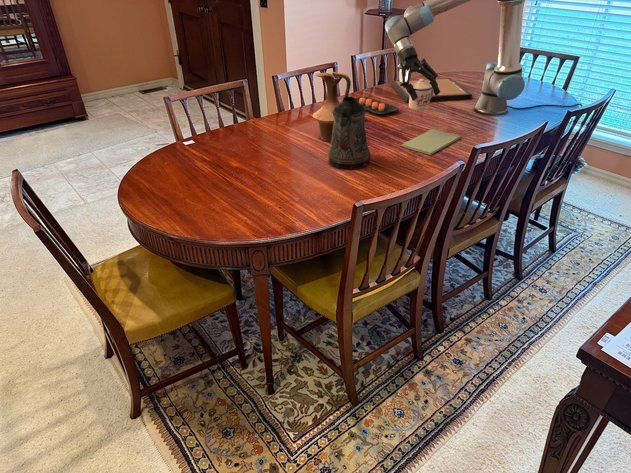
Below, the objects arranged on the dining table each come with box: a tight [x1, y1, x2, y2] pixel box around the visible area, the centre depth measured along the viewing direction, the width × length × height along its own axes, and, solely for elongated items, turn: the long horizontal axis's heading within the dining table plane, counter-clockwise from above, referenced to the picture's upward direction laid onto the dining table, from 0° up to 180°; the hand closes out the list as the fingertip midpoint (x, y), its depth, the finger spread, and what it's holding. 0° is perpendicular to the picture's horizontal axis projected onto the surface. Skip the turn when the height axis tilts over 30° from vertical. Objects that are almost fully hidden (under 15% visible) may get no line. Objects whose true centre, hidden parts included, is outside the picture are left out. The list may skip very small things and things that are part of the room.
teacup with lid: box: [408, 78, 434, 111], centre depth 184 cm, size 12×9×12 cm
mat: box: [401, 128, 461, 156], centre depth 185 cm, size 24×14×1 cm, turn 136°
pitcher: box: [312, 71, 352, 142], centre depth 186 cm, size 18×17×28 cm
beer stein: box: [327, 96, 371, 171], centre depth 164 cm, size 16×19×25 cm
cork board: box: [391, 77, 473, 104], centre depth 247 cm, size 36×3×35 cm
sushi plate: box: [354, 96, 400, 122], centre depth 222 cm, size 29×30×4 cm
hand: (426, 96), depth 183 cm, fingers closed on teacup with lid, 12 cm apart
